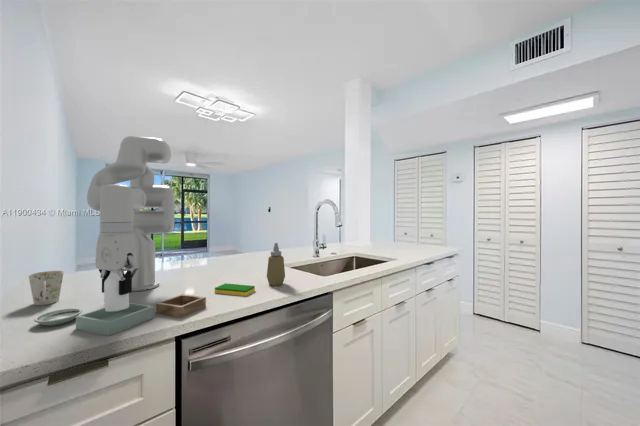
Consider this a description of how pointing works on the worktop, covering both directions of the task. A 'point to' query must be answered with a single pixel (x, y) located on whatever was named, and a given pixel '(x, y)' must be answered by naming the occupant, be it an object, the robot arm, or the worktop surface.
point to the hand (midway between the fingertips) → (116, 291)
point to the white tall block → (114, 294)
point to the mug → (46, 287)
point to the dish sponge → (235, 289)
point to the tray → (114, 319)
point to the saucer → (57, 316)
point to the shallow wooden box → (174, 309)
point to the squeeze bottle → (275, 267)
